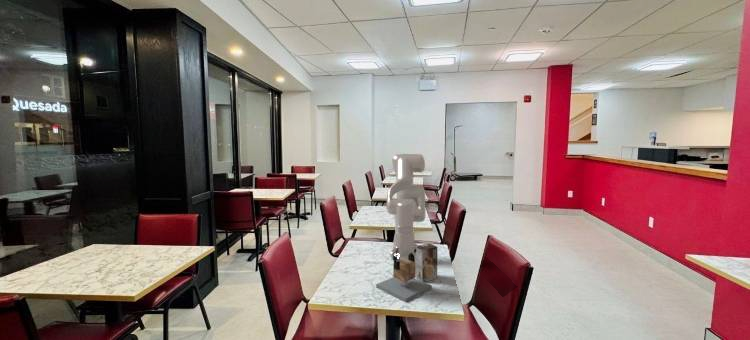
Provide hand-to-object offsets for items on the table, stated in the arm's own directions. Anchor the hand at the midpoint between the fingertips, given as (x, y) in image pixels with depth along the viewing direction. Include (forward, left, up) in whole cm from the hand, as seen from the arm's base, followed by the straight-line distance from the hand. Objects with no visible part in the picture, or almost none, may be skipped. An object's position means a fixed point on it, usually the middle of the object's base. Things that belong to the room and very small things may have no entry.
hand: (404, 266), depth 140 cm
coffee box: (-16, 0, -11) cm, 19 cm away
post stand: (0, 0, -10) cm, 10 cm away
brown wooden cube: (-1, 0, -5) cm, 5 cm away
